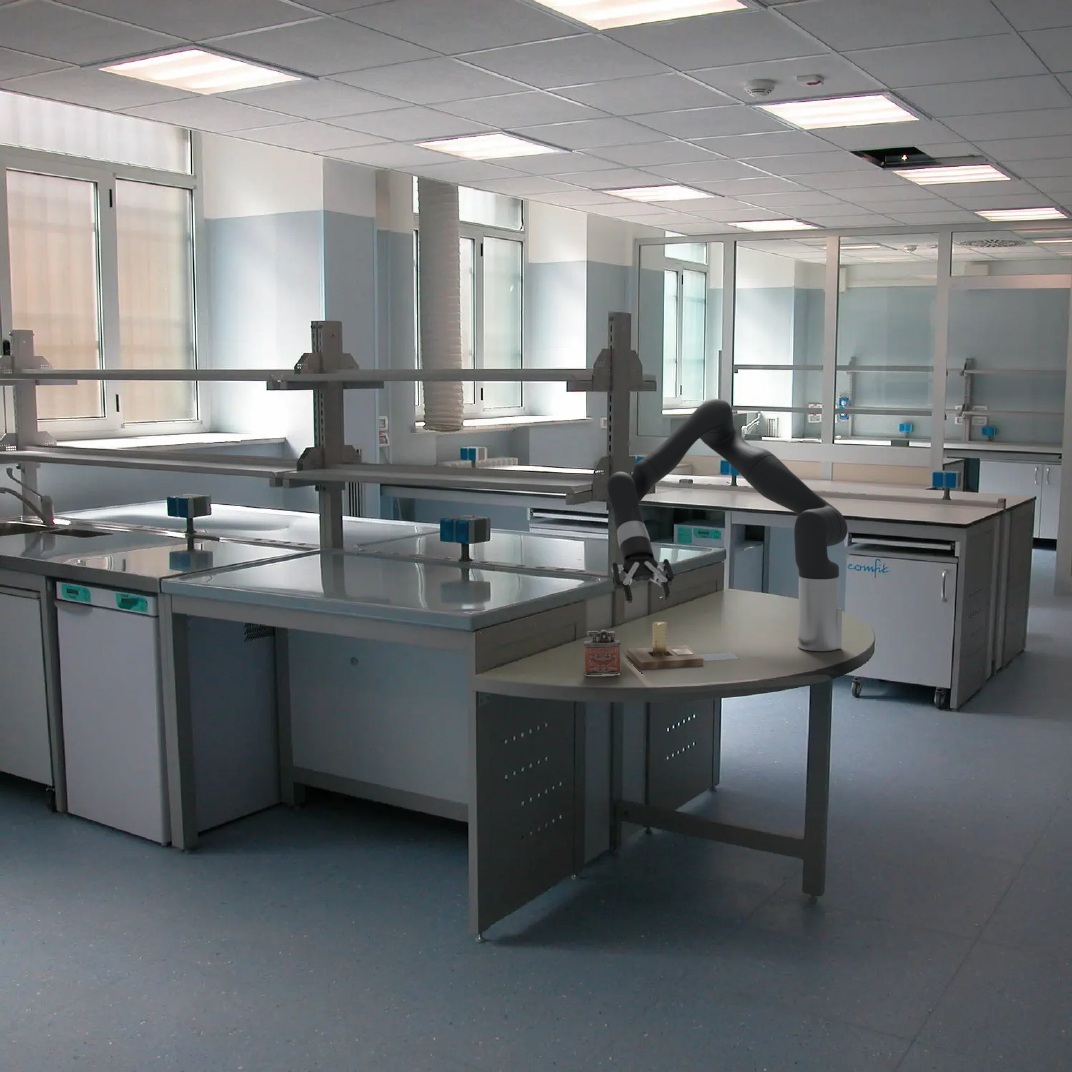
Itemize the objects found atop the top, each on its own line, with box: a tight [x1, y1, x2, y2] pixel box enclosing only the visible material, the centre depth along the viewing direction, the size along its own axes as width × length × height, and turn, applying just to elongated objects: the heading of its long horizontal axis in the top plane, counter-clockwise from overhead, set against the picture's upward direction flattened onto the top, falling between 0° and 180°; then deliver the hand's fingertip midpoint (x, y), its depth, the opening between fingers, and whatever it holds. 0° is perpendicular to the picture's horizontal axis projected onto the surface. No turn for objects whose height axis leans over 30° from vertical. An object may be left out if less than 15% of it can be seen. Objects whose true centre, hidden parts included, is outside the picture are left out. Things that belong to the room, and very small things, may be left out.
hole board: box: [626, 644, 704, 674], centre depth 252 cm, size 14×13×3 cm
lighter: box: [583, 629, 622, 675], centre depth 246 cm, size 8×3×10 cm, turn 92°
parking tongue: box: [698, 652, 740, 662], centre depth 254 cm, size 8×6×2 cm
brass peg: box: [652, 621, 668, 657], centre depth 252 cm, size 3×3×10 cm
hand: (648, 599), depth 260 cm, fingers open, 8 cm apart
